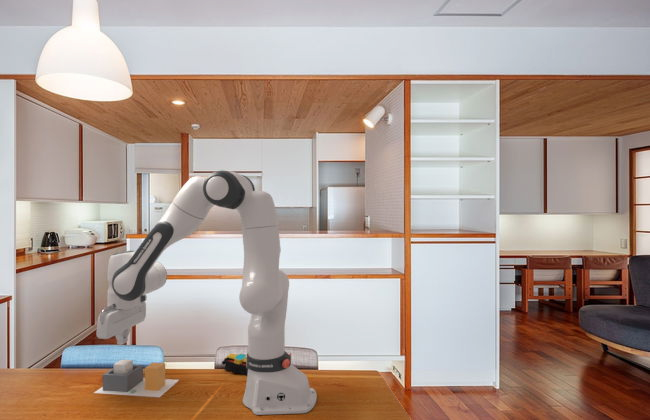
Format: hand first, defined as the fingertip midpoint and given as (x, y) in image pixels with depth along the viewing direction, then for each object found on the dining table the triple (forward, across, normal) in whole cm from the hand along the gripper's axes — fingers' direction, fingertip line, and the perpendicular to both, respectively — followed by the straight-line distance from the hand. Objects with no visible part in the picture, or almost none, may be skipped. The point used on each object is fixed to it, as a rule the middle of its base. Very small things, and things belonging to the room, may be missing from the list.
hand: (122, 343), depth 127 cm
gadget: (+14, +17, -35) cm, 41 cm away
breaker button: (+10, 0, 0) cm, 10 cm away
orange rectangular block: (+13, 0, -12) cm, 18 cm away
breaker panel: (+14, 0, -6) cm, 16 cm away
